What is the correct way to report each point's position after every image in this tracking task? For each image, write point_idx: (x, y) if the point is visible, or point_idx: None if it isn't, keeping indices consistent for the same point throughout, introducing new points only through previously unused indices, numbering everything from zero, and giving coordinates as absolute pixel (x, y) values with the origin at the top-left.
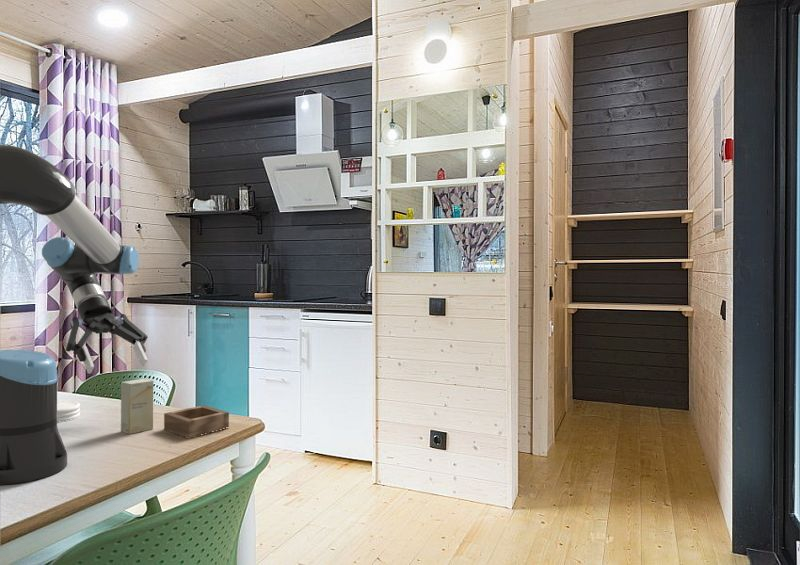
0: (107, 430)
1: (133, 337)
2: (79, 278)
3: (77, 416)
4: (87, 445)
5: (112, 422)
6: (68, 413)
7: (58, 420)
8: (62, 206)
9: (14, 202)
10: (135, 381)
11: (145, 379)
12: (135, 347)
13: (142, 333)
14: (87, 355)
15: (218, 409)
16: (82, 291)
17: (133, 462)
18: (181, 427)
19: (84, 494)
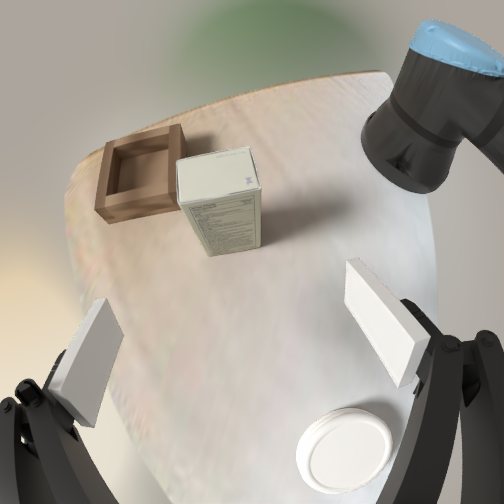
0: (281, 272)
1: (55, 423)
2: None
3: (309, 427)
4: (331, 197)
5: (253, 335)
6: (336, 415)
7: (353, 408)
8: None
9: None
10: (222, 172)
11: (184, 188)
12: (86, 397)
13: (2, 428)
14: (390, 295)
15: (101, 166)
16: None
17: (287, 104)
18: (183, 149)
19: (342, 75)
